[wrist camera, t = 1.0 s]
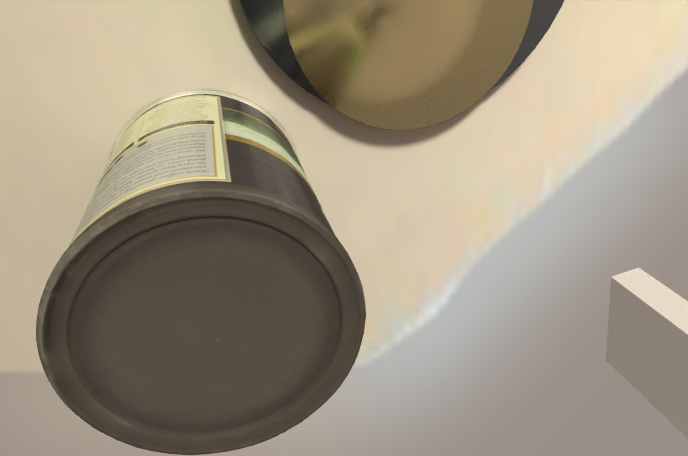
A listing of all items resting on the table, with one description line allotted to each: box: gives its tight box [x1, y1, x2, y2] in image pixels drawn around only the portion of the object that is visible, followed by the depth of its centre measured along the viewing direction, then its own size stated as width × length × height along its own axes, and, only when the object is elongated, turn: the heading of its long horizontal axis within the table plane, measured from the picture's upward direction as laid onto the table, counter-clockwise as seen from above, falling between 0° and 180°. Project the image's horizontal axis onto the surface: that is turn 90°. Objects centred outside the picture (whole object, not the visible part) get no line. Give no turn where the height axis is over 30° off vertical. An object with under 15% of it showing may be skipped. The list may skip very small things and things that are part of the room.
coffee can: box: [36, 90, 366, 455], centre depth 24 cm, size 10×10×14 cm
